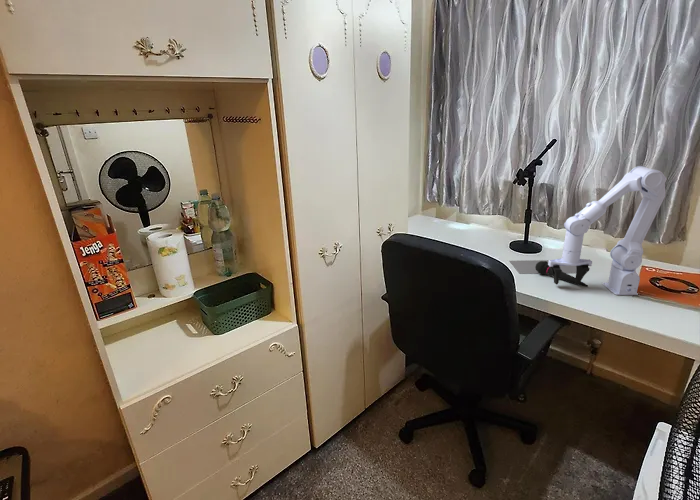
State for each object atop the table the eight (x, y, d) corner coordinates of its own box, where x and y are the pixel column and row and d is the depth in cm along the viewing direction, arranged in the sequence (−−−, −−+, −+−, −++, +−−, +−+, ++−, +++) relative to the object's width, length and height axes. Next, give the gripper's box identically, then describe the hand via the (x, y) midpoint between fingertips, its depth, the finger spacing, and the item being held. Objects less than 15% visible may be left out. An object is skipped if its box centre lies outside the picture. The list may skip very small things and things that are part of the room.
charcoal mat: (585, 273, 155) (585, 273, 155) (519, 273, 157) (519, 273, 157) (570, 260, 168) (570, 259, 168) (509, 260, 171) (509, 260, 170)
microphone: (586, 292, 146) (536, 271, 160) (593, 279, 144) (541, 258, 158) (581, 293, 142) (530, 271, 156) (588, 279, 141) (536, 258, 154)
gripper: (587, 245, 142) (581, 278, 147) (546, 246, 144) (542, 278, 148) (597, 252, 136) (590, 286, 140) (554, 252, 137) (549, 287, 142)
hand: (566, 283), depth 144 cm, fingers open, 7 cm apart
